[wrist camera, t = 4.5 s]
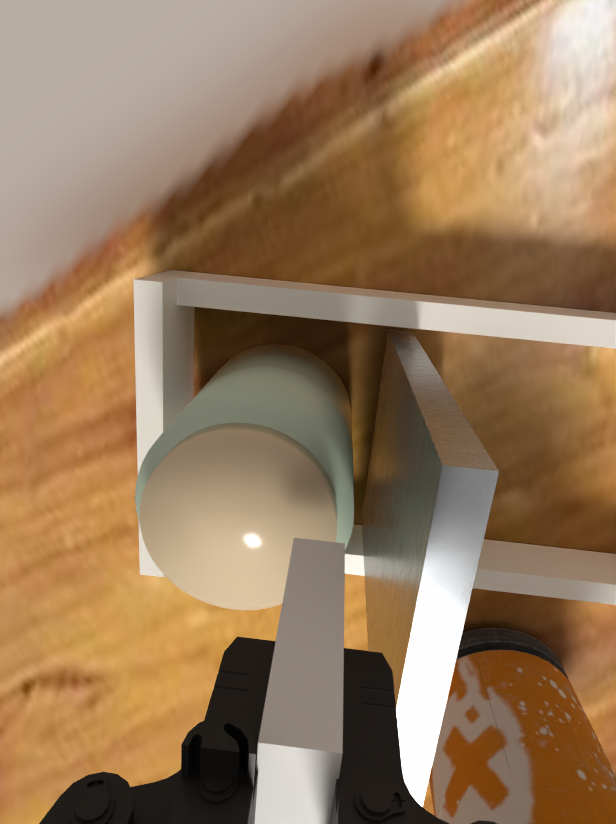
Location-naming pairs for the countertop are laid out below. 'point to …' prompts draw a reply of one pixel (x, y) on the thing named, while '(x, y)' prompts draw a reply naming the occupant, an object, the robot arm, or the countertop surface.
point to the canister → (517, 740)
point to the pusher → (421, 541)
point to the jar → (249, 477)
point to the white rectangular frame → (183, 291)
